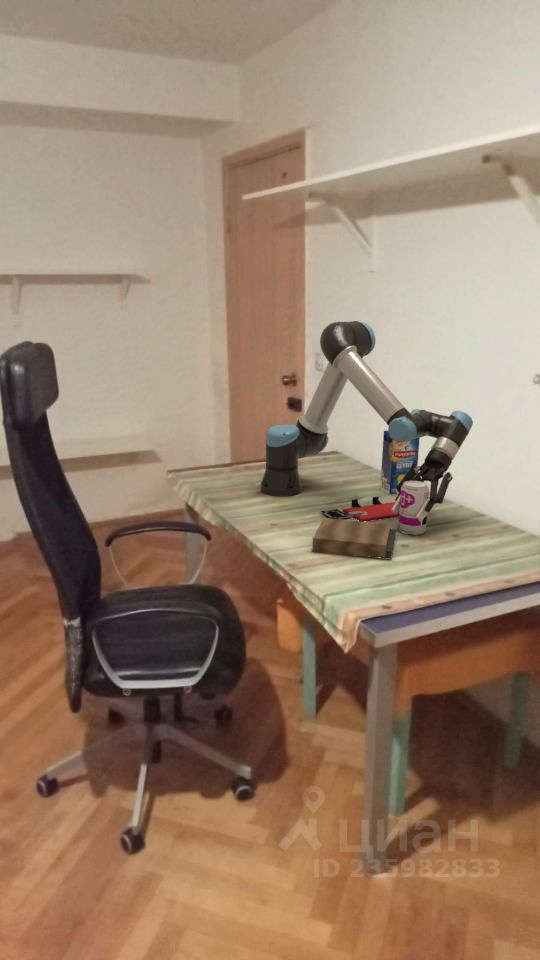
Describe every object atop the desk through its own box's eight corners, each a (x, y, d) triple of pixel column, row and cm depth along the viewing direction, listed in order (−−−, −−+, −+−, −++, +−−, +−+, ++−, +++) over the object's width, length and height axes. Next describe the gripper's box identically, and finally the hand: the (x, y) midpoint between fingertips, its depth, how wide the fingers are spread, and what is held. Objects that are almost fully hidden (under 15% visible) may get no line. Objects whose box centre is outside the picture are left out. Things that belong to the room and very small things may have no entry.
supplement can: (409, 537, 198) (413, 488, 194) (392, 528, 205) (395, 481, 201) (431, 533, 201) (435, 485, 197) (413, 525, 208) (417, 478, 204)
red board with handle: (316, 512, 220) (341, 527, 207) (317, 504, 219) (342, 518, 206) (390, 502, 233) (418, 515, 220) (391, 494, 232) (419, 507, 219)
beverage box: (415, 491, 245) (420, 432, 239) (389, 494, 241) (393, 434, 235) (405, 486, 251) (409, 429, 245) (379, 489, 247) (383, 430, 241)
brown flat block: (312, 551, 186) (312, 537, 184) (323, 530, 202) (323, 517, 201) (390, 559, 181) (391, 545, 180) (395, 537, 197) (396, 524, 196)
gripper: (475, 469, 201) (440, 531, 194) (417, 456, 215) (383, 513, 209) (467, 454, 196) (431, 517, 189) (408, 442, 210) (373, 500, 204)
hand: (406, 515), depth 199 cm, fingers closed on supplement can, 8 cm apart
